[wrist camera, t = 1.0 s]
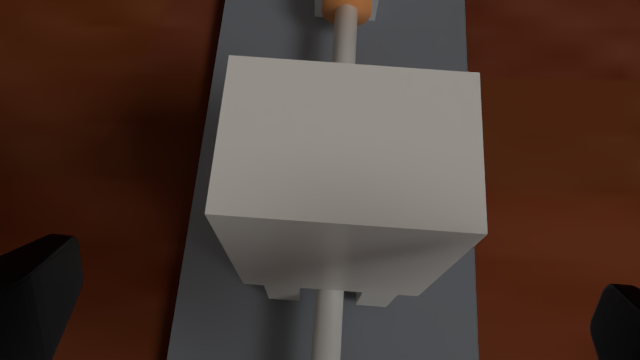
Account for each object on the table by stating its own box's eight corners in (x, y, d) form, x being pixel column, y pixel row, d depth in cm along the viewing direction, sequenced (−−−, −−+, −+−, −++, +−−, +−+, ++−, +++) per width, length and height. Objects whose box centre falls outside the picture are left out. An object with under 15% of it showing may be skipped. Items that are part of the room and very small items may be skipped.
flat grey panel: (477, 544, 20) (531, 590, 15) (147, 520, 20) (98, 558, 15) (458, -23, 29) (486, -101, 25) (236, -38, 29) (223, -120, 25)
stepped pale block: (404, 308, 21) (487, 234, 12) (251, 297, 21) (204, 214, 12) (405, 211, 23) (479, 72, 13) (261, 201, 23) (228, 54, 13)
